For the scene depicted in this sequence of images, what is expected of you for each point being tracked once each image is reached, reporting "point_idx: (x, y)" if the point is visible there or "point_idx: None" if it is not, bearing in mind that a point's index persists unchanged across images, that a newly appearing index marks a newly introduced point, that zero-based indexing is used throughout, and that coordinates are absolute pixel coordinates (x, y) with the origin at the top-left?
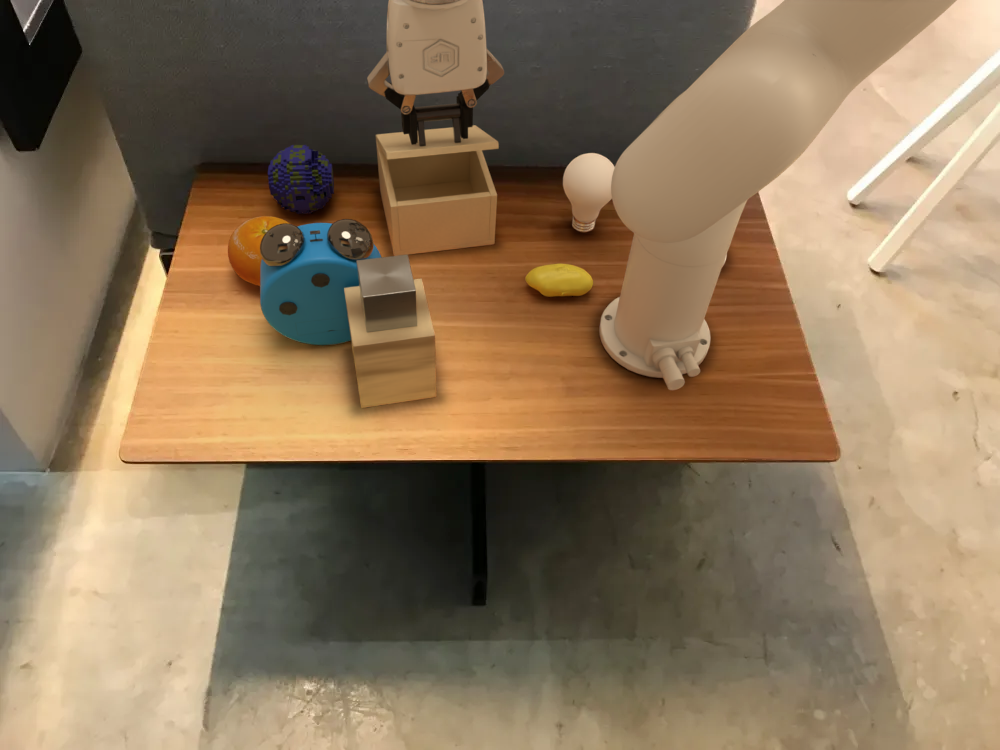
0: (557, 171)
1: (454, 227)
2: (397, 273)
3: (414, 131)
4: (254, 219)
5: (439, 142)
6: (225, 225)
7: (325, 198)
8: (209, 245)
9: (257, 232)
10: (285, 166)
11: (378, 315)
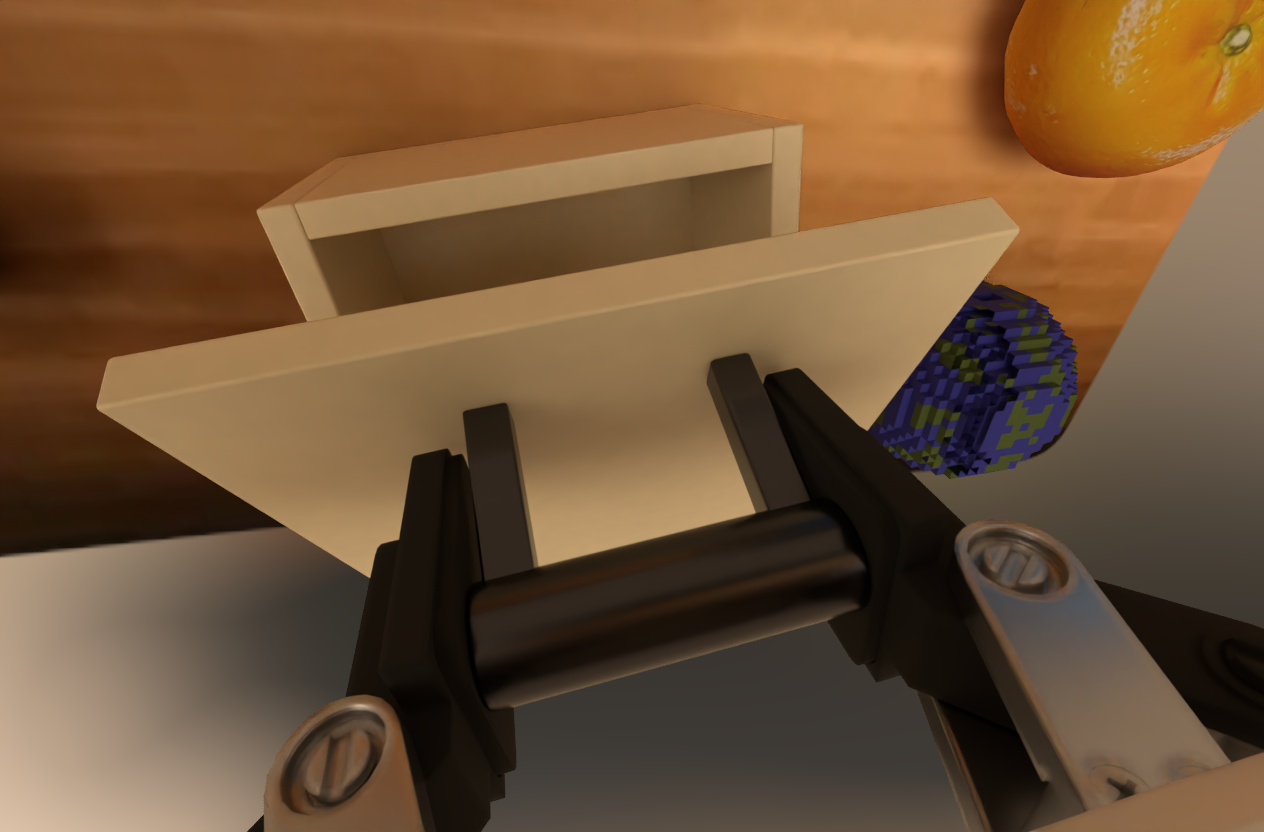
0: (173, 522)
1: (491, 148)
2: None
3: (828, 422)
4: (1244, 113)
5: (607, 425)
6: (1095, 257)
7: None
8: (1157, 178)
9: None
10: (1062, 379)
11: None
